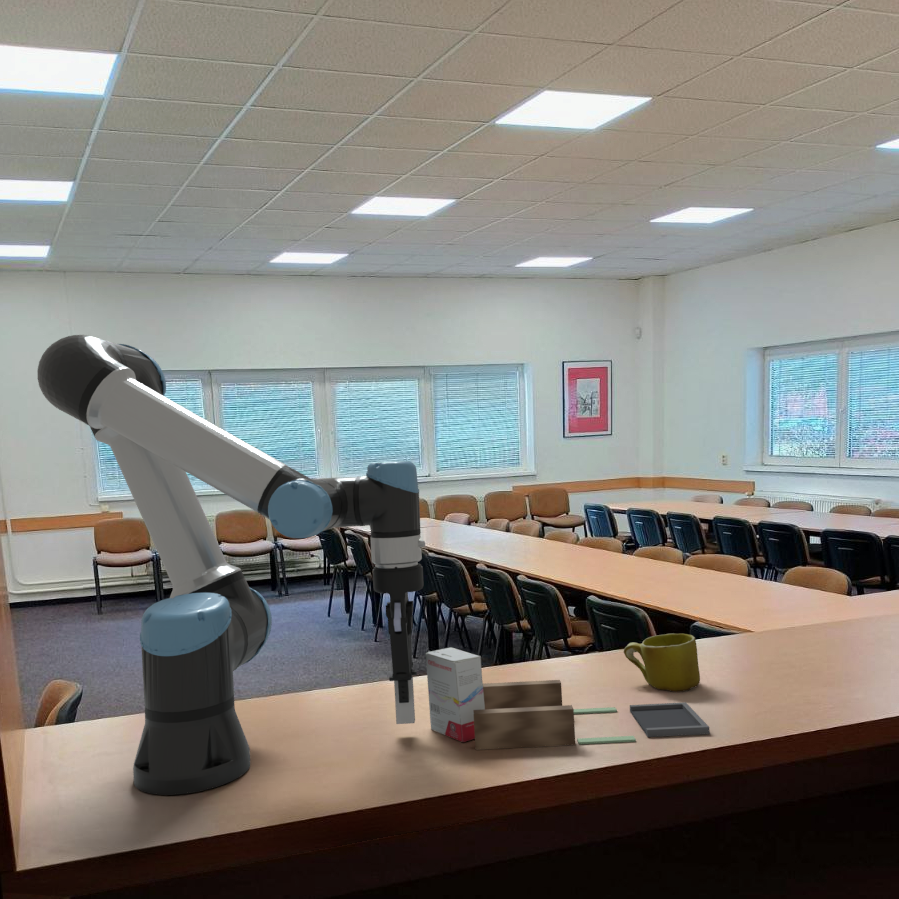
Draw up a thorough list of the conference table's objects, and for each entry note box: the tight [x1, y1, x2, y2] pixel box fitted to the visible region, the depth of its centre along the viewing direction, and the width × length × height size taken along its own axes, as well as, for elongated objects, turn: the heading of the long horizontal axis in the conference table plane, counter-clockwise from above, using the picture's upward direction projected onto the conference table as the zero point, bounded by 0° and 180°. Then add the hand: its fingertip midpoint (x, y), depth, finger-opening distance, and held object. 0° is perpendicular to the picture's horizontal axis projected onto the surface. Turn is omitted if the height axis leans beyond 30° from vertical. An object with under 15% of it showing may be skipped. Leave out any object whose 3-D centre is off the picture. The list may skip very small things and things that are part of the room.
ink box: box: [425, 647, 485, 743], centre depth 120 cm, size 9×5×12 cm, turn 34°
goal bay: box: [573, 706, 637, 745], centre depth 120 cm, size 8×15×1 cm, turn 0°
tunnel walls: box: [473, 679, 576, 751], centre depth 120 cm, size 14×15×5 cm
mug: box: [623, 633, 701, 693], centre depth 139 cm, size 12×10×10 cm
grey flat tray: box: [629, 701, 711, 738], centre depth 120 cm, size 9×12×1 cm
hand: (405, 721), depth 120 cm, fingers closed
